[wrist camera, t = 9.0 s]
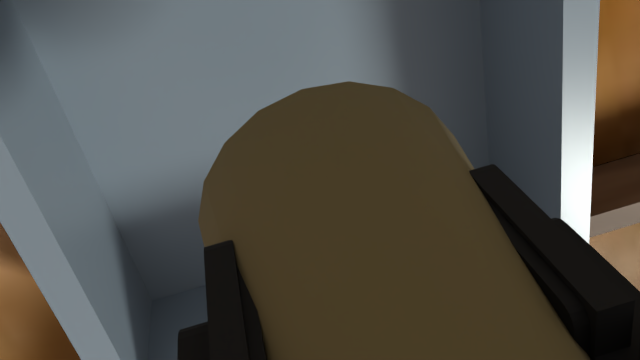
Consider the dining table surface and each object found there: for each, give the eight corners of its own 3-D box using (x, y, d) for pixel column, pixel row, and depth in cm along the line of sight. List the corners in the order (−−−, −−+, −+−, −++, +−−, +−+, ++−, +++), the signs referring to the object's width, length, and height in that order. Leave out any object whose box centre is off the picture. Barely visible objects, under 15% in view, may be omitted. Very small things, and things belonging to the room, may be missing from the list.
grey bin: (-73, -122, 16) (-195, -111, 11) (483, -249, 17) (612, -295, 12) (137, 310, 24) (124, 433, 19) (504, 202, 25) (587, 291, 20)
